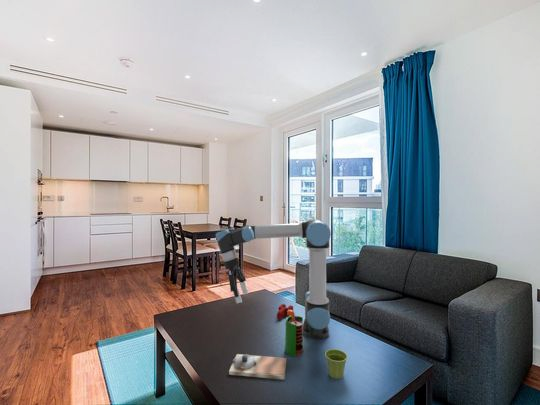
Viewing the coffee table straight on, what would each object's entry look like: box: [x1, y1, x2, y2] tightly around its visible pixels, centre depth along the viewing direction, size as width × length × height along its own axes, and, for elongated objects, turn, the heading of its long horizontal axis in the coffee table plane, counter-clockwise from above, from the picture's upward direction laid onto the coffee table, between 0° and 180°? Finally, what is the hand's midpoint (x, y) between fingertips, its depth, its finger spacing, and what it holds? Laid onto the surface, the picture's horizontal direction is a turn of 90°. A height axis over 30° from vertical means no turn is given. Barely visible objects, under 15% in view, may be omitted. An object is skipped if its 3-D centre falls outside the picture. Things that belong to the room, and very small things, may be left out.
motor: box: [284, 309, 304, 357], centre depth 138 cm, size 10×9×20 cm
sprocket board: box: [228, 353, 287, 380], centre depth 125 cm, size 24×13×4 cm, turn 82°
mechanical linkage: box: [276, 303, 294, 321], centre depth 179 cm, size 16×7×5 cm, turn 154°
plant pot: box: [324, 348, 348, 380], centre depth 120 cm, size 9×9×9 cm
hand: (242, 298), depth 145 cm, fingers open, 13 cm apart
